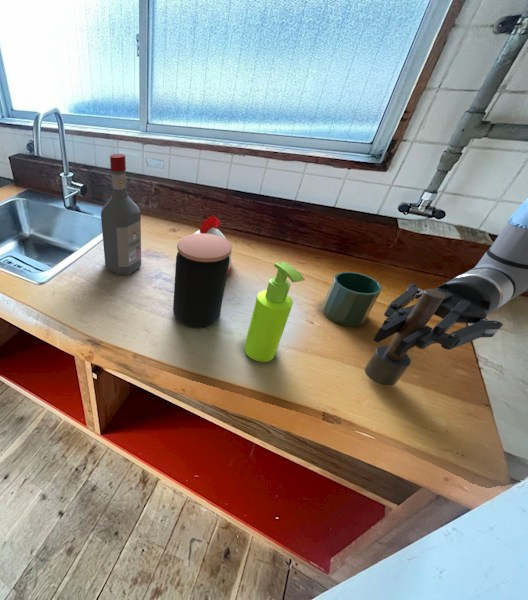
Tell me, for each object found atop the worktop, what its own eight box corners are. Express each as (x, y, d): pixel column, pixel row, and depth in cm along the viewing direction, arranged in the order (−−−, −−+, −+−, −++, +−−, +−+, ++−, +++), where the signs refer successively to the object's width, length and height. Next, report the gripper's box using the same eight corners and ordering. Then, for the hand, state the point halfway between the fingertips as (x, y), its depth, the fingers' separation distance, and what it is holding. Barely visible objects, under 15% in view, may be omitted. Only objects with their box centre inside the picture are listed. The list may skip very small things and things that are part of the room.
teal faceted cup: (373, 318, 71) (391, 286, 66) (348, 331, 68) (364, 299, 63) (337, 298, 77) (351, 268, 72) (313, 309, 74) (325, 278, 69)
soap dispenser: (256, 368, 61) (284, 281, 49) (238, 343, 66) (259, 259, 54) (284, 362, 62) (317, 275, 50) (264, 338, 67) (289, 254, 55)
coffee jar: (228, 312, 74) (242, 242, 64) (203, 337, 68) (213, 264, 57) (189, 295, 80) (196, 228, 69) (163, 316, 74) (166, 246, 63)
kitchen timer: (170, 266, 92) (172, 216, 83) (200, 250, 99) (205, 202, 90) (210, 286, 83) (218, 233, 74) (239, 266, 90) (250, 215, 81)
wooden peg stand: (402, 379, 56) (464, 296, 45) (386, 390, 54) (445, 307, 44) (375, 361, 60) (425, 280, 49) (358, 370, 58) (407, 289, 47)
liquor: (145, 264, 93) (145, 154, 75) (124, 278, 88) (118, 162, 70) (122, 255, 98) (116, 149, 80) (101, 267, 93) (90, 157, 75)
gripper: (513, 337, 53) (434, 394, 45) (412, 290, 64) (333, 329, 56) (547, 301, 49) (466, 357, 41) (432, 258, 60) (350, 295, 52)
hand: (389, 341), depth 48 cm, fingers closed on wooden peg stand, 2 cm apart
